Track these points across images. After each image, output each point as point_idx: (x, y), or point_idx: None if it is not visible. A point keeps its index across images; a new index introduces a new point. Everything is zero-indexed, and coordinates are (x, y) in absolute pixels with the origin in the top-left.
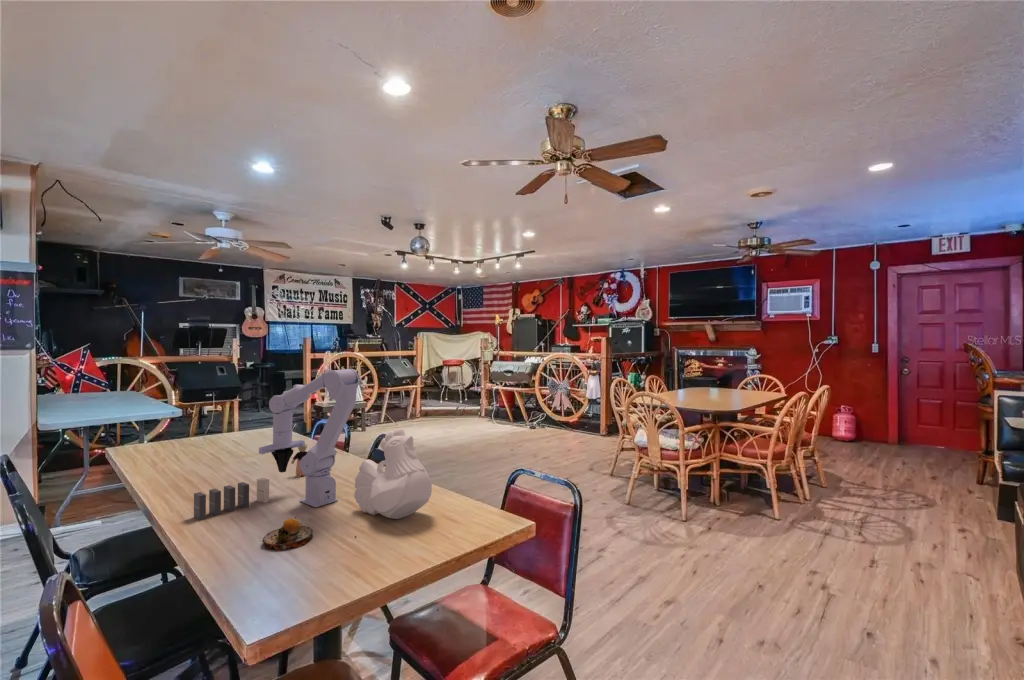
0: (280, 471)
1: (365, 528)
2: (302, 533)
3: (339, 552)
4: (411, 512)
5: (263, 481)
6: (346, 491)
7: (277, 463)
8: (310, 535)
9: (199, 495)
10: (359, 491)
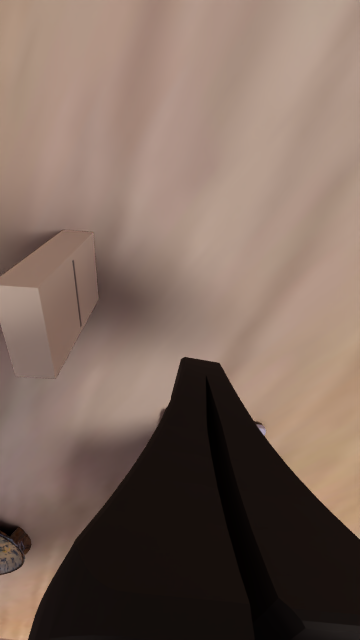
0: (173, 388)
1: None
2: (10, 546)
3: (22, 595)
4: None
5: (16, 360)
6: (333, 460)
7: (170, 415)
8: (10, 565)
9: None
10: None
